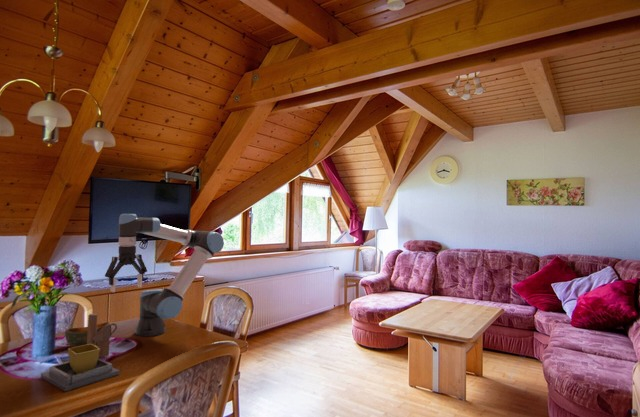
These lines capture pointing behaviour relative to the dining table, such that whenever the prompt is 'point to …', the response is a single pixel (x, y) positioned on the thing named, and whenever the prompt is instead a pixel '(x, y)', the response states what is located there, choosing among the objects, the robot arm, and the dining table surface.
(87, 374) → the collar stand
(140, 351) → the dining table surface
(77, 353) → the flower pot
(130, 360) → the dining table surface
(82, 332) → the cup
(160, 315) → the robot arm
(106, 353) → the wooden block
